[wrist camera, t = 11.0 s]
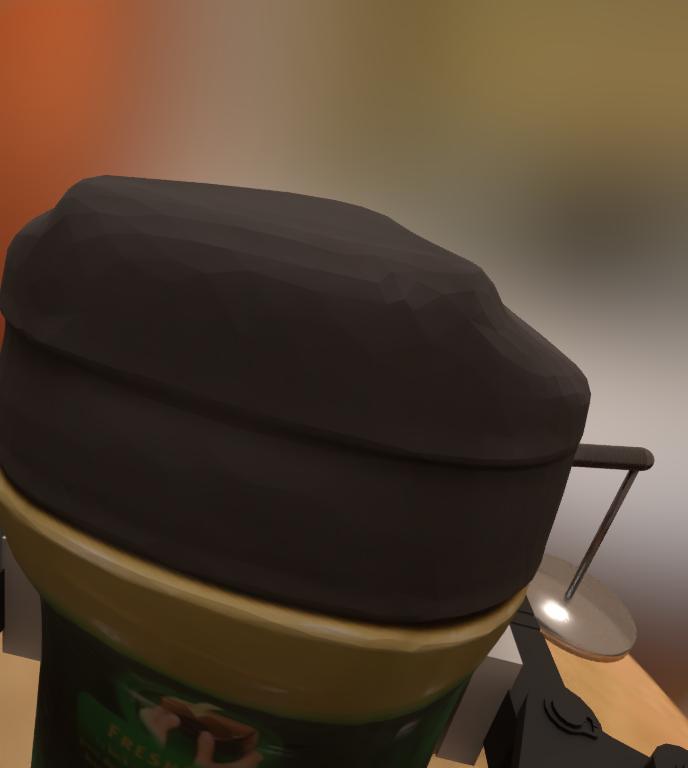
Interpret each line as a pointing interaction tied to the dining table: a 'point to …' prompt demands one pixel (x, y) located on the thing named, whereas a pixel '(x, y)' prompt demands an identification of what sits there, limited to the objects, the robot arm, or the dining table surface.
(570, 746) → the robot arm
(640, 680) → the dining table surface
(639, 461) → the balance
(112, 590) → the coffee jar
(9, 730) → the dining table surface
